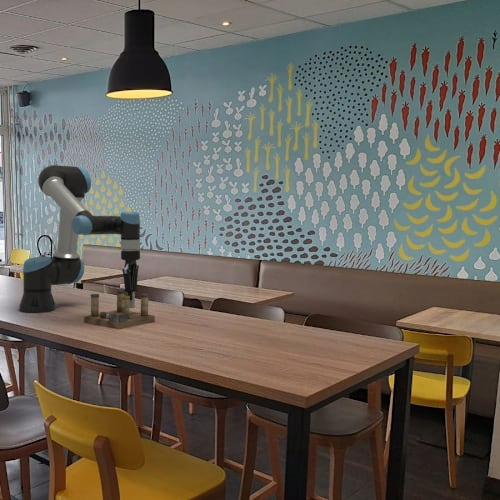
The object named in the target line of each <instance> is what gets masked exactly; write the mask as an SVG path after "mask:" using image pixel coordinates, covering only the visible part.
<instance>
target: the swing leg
mask: <svg viewBox="0 0 500 500" xmlns="http://www.w3.org/2000/svg"><path fill="white" fill-rule="evenodd" d="M130 309H131V308H130V296H129V295H127V294H124V295H123V296H122V314H124V313H128V318H129V311H130ZM106 312H107V311H101V312H99V313H100V317H102V318H104V317H106V318H109V314H106Z"/></svg>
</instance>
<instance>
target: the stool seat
mask: <svg viewBox="0 0 500 500" xmlns="http://www.w3.org/2000/svg"><path fill="white" fill-rule="evenodd" d="M125 293H126V292H125V290H116V310H111V311H105V312H106V314H109V318H106V317H104V318H102V317H100V312H99V310H100V309H99V300H100V299H99V297H100V294H99V293H91V294H90V314H88V315H84V316H83V323H85V324H92V325H95V326H100V327H106V328H110V329H115V330H121V329H125V328H131V327H136V326H141V325H145V324H150V323H155V321H156V317H155V316H156V315H153V314H149V297H150V296H149V294H148V293H141V294H140V312H135V311H130V310H129V318H128V313H124V314H122V296H123V295H125Z"/></svg>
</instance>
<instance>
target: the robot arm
mask: <svg viewBox="0 0 500 500" xmlns="http://www.w3.org/2000/svg"><path fill="white" fill-rule="evenodd" d="M91 179H92V178H91V176H90V174H89V172H88V171H87V169H85V168H84V167H80V166H74V165H73V166H71V165H57V164H56V165H55V164H52V165H49V166H46V167H44V168H42V170H41V171H40V173H39V175H38V179H37V183H38V187H39V189H40V191H41V192H42V193H43V194H44V195H45V196H47V197H50V198H51V199H52V200H53V201H54V203H55V204H56V205H57V206H58V207H59V208H60V209H59V221H58V223H59V225H58V235H57V237H58V239H57V250H56V252H54V253H53V258H52V257H50V256H35V257H29V258H27V259H26V260H25V261H24V263H23V269H22V271H23V272H22V273H23V277H22V278H23V292H22V293H23V294H22V297H21V300H20V302H19V307H18V308H19V309H18V310H19V311H20V312H24V313H48V312H53V311H55V310H56V302H55V300H54V296H53V294H52V286H55V285H57V286H58V285H59V286H60V285H71V284H75V283H76V284H77V283H78V282H79V281H81V280H82V278H83V276H84V274H85V265H84V261H83V259H81V255H80V254H79V253H78V241H79V235H82V236H89V235H93V236H94V235H120V242H119V243H120V248H121V251H120V259H121V260H122V261H124V268H122V270H121V271H122V275H123V283H124V284H123V285H124V291H125V293H127V294H126V295H129V296H130V309H135V308H136V297H135V296H136V292H138V290H137V289H138V278H139V268H140V266H139V265H138V264H137V261H138V260H140V259H141V251H140V249H141V231H140V230H141V220H140V212H139V211H121V212H120V216H119V215H93V214H92V213H91V212H90V210H88V209H87V208H86V207H85V206H84V205H83V204H82V201H83V200H84V199H85V194H88V193H89V192H90V190H91V187H92V180H91Z"/></svg>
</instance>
